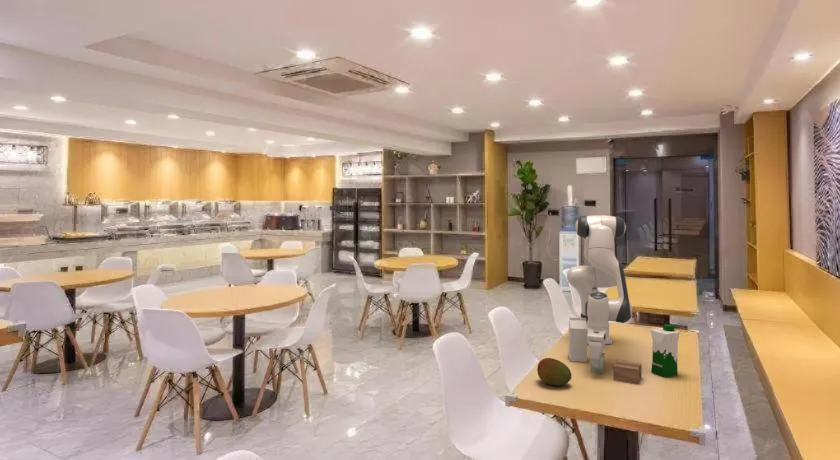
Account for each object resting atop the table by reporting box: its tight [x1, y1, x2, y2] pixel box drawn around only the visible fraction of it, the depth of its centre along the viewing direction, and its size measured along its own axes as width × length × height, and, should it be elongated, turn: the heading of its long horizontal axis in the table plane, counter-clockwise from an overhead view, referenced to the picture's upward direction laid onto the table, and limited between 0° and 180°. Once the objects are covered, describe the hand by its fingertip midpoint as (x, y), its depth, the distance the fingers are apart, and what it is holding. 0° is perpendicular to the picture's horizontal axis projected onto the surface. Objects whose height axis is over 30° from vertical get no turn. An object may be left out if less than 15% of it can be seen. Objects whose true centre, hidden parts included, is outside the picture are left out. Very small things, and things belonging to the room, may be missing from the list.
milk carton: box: [568, 317, 588, 363], centre depth 219 cm, size 7×7×19 cm
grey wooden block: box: [589, 352, 606, 374], centre depth 204 cm, size 5×5×7 cm
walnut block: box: [612, 359, 643, 385], centre depth 194 cm, size 9×9×6 cm
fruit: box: [536, 357, 572, 386], centre depth 188 cm, size 12×12×10 cm
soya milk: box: [650, 323, 681, 378], centre depth 199 cm, size 9×9×20 cm
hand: (597, 364), depth 204 cm, fingers closed on grey wooden block, 5 cm apart
